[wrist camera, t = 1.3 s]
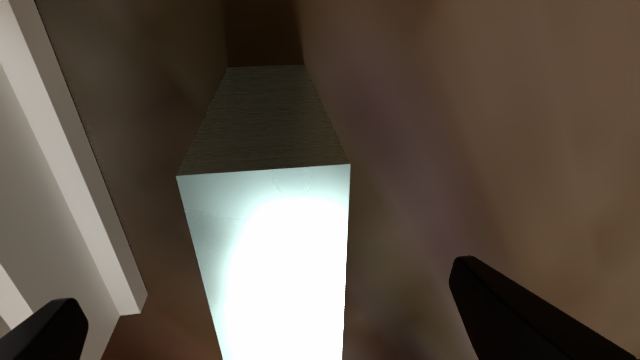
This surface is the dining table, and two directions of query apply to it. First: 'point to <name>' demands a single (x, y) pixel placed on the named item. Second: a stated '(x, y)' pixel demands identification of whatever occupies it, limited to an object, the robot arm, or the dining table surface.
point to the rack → (54, 195)
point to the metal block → (269, 216)
